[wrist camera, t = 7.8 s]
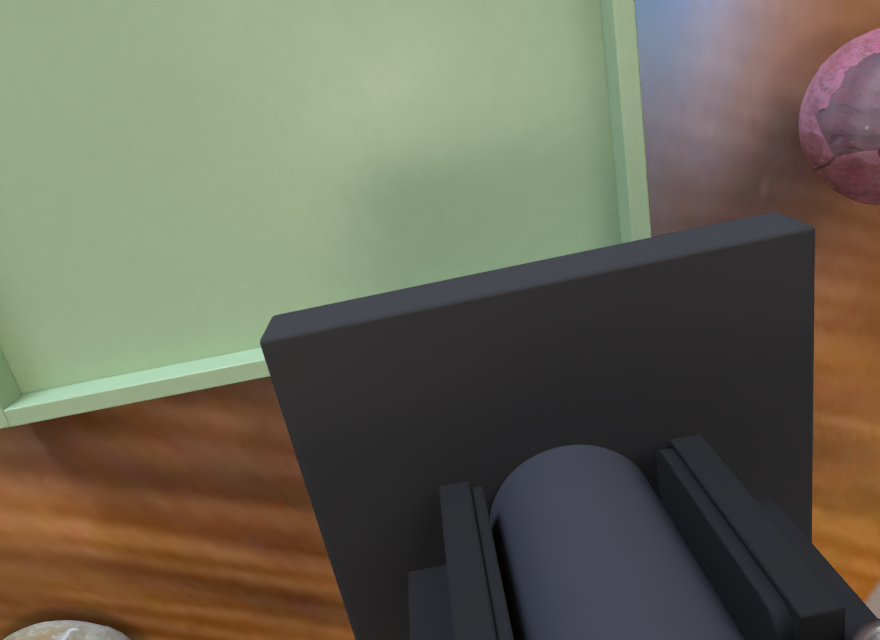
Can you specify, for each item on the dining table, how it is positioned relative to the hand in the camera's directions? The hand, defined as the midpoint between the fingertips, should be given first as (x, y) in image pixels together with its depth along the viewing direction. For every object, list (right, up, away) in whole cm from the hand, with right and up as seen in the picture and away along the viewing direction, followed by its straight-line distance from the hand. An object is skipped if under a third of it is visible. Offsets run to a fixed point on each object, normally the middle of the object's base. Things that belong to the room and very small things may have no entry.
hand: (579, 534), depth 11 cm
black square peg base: (0, +1, +2) cm, 2 cm away
